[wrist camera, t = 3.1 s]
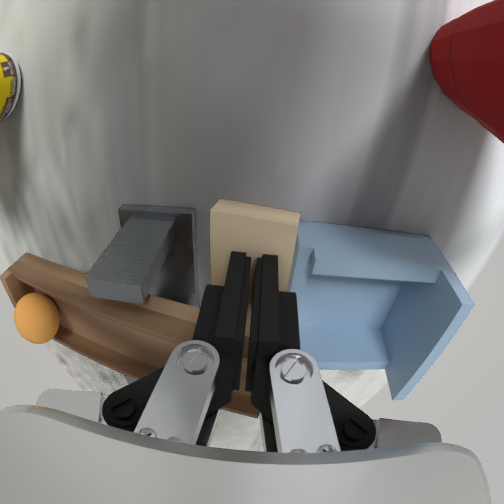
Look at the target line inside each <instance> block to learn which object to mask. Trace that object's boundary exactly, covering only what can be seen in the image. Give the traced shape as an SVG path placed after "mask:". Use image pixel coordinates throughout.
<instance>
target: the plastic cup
mask: <svg viewBox="0 0 504 504" xmlns="http://www.w3.org/2000/svg"><path fill="white" fill-rule="evenodd" d="M430 62H431V66H432V70H433V74H434V78H435V79H436V81H437V83H438V85H439V86H440V88H441V90H442V92H443V93H444V94H445V95H446V96H447V97H448V98H449V99H450V100H451V101H452V102H453V103H455V104H456V105H457V106H458V107H459V108H460V109H461V110H463V111H464V112H466V113H467V114H469V115H470V116H472V117H473V118H475V119H476V120H477V121H478V122H479V123H480V124H481V125H482V126H483V127H484V128H486V129H487V130H488V131H489V132H491V133H492V134H493V135H494V136H495V137H497V138H498V139H499V140H500V141H501V142H503V143H504V0H494V1H492V2H489V3H487V4H484V5H482V6H480V7H477V8H475V9H473V10H471V11H469V12H467V13H466V14H464V15H462V16H460V17H459V18H456V19H454V20H452V21H450V22H449V23H447V24H445V25H443V26H442V27H441V28H440V29H439V30H438V31H437V33H436V35H435V37H434V38H433V40H432V42H431V51H430Z"/></svg>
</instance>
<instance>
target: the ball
mask: <svg viewBox="0 0 504 504" xmlns="http://www.w3.org/2000/svg"><path fill="white" fill-rule="evenodd" d="M14 321H15V325H16V327H17V330H18V332H19V333H20V334H21V335H22V337H23V338H25V339H26V340H27V341H29V342H32V343H35V344H41V343H46V342H48V341H49V340H51V339H52V338H53V337H54V336H55V334H56V333H57V330H58V327H59V313H58V310H57V307H56V305H55V304H54V302H53V301H52V300H51V299H50V298H49V297H47V296H46V295H44V294H41V293H36V292H34V293H29V294H26V295H24V296H23V297H22V298H21V299H20V300H19V301H18V303H17V305H16V307H15V311H14Z"/></svg>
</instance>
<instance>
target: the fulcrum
mask: <svg viewBox="0 0 504 504" xmlns="http://www.w3.org/2000/svg"><path fill="white" fill-rule="evenodd" d="M118 212H119V218H120V224H121V229H120V231H119V232H118V233H117V235H116V236H115V237H114V238H113V240H112V241H111V242H110V244H109V245H108V246H107V248H106V249H105V250H104V252H103V253H102V255H101V256H100V257H99V259H98V260H97V261H96V263H95V264H94V266H93V267H92V268H91V270H90V271H89V273H88V274H87V276H86V277H85V279H86V282H87V285H88V288H89V291H90V294H91V296H93V297H99V298H104V299H110V300H116V301H122V302H128V303H135V304H141V305H144V304H145V302H146V299H147V297H148V295H149V294H151V295H154V296H158V297H161V298H165V299H168V300H172V301H175V302H179V303H182V304H186V305H190V306H193V307H197V308H199V294H198V277H197V257H196V232H195V208H183V207H167V206H150V205H130V204H123V205H122V206H121V207H120V208H119V209H118ZM124 376H125V378H126V380H127V382H128V384H131V383H133V382H135V381H137V380H136V379H134V378H132V377H129V376H127V375H124Z"/></svg>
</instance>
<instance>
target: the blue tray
mask: <svg viewBox="0 0 504 504" xmlns="http://www.w3.org/2000/svg"><path fill="white" fill-rule="evenodd" d="M287 292H296V296H297V307H298V320H299V335H300V350H301V351H304V352H306V353H308V354H309V355H311V356H312V357H313V358H314V359H315V360H316V363H317V365H318V367H319V369H321V370H363V369H385V371H386V375H387V379H388V383H389V387H390V392H391V397H392V400H401V399H404V398H405V397H406V396H407V395H408V394H409V393H410V391H411V390H412V389H413V388H414V387H415V385H416V384H417V383H418V382H419V381H420V380H421V379H422V377H423V376H424V375H425V374H426V372H427V371H428V370H429V369H430V367H431V366H432V365H433V364H434V362H435V361H436V359H438V357H439V356H440V355H441V353H442V352H443V351H444V349H445V348H446V346H447V345H448V343H449V342H450V341H451V340H452V338H453V337H454V335H455V334H456V332H457V331H458V329H459V328H460V326H461V325H462V323H463V322H464V320H465V319H466V317H467V316H468V314H469V313H470V311H471V309H472V308H473V306H474V303H473V301H472V299H471V298H470V296H469V294H468V293H467V291H466V290H465V288H464V286H463V285H462V283H461V282H460V280H459V279H458V277H457V275H456V274H455V272H454V271H453V269H452V268H451V266H450V265H449V263H448V262H447V260H446V259H445V258H444V256H443V255H442V253H441V252H440V250H439V249H438V248H437V246H436V245H435V243H434V242H433V241H432V239H431V238H430V237H429V236H424V235H417V234H410V233H403V232H395V231H388V230H380V229H372V228H364V227H356V226H347V225H339V224H330V223H321V222H312V221H302V220H300V222H299V228H298V234H297V240H296V246H295V251H294V257H293V262H292V268H291V273H290V278H289V284H288V289H287Z"/></svg>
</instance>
